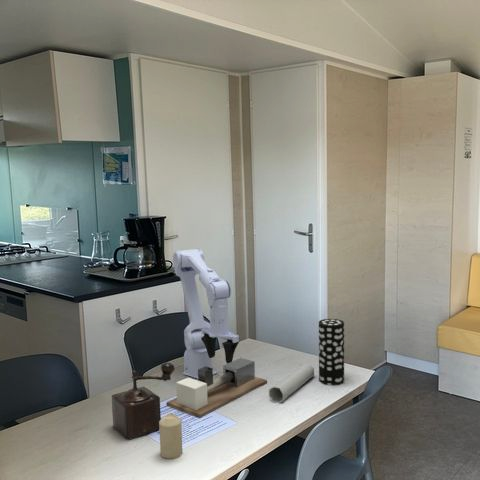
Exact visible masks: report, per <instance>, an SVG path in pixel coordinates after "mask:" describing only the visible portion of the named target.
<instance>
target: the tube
mask: <svg viewBox="0 0 480 480" xmlns="http://www.w3.org/2000/svg"><path fill="white" fill-rule="evenodd" d="M314 376H315V368H314V367H313V366H312V364H308V363H305V364H304V365H302V366H301V367H299V368H297V369H296V370H295V371H293V372H292V373H291V374H289V375H287V377H285V378H284V379H282V380H281V381H280V382H278V383H277V384H275V385H274V386H272V387H270V388H269V389H268V397H269V398H270V401H271V402H274V403H278V404H280V403H282V402H283V401H285V399H287V398H288V397H289V396H290V395H291V394H292V393H294V392H295V391H297V390H298V389H299V388H300V387H302V386H303V384H306V383H307V382H308V381H309V380H310V379H312V377H314Z"/></svg>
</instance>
